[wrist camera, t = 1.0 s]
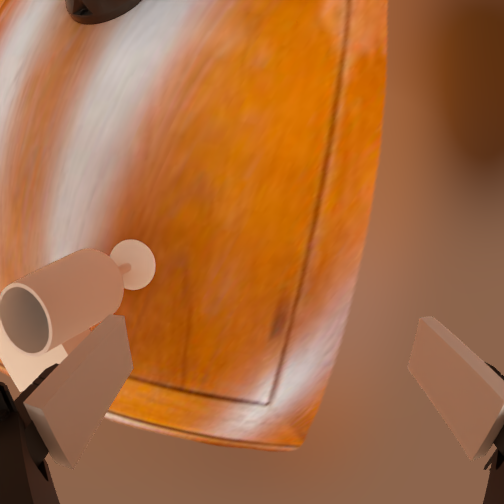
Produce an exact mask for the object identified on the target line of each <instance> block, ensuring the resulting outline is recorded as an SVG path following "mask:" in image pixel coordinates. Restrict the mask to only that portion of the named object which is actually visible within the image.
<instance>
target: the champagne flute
mask: <svg viewBox="0 0 504 504" xmlns="http://www.w3.org/2000/svg"><path fill="white" fill-rule="evenodd" d="M155 267H156V264H155V259H154V255H153V253H152V252H151V250H150V249H149V248H148V246H146V245H145V244H144V243H142V242H140V241H138V240H133V239H129V240H124V241H121V242H120V243H118V244H117V245H116V246H115V247H114V248H113V250H112V251H111V254H110V257H109V256H108V255H107V254H105V253H103V252H101V251H98V250H95V249H81V250H79V251H76V252H74V253H72V254H70V255H68V256H65V257H63V258H61V259H59V260H57V261H55V262H53V263H51V264H49V265H47V266H45V267H43V268H41V269H39V270H37V271H35V272H33V273H31V274H29V275H27V276H25V277H23V278H21V279H19V280H17V281H15V282H13V283H11V284H9V285H7V286H6V287H5V288H4V289H3V291H2V292H1V294H0V325H1V328H2V331H3V333H4V335H5V336H6V338H7V339H8V341H9V342H10V344H11V345H12V346H13V347H14V348H15V349H16V350H18V351H19V352H20V353H22V354H24V355H27V356H30V357H38V356H41V355H43V354H45V353H46V352H48V351H50V350H52V349H53V348H55V347H57V346H59V345H60V344H62V343H64V342H66V341H67V340H69V339H71V338H73V337H75V336H76V335H78V334H80V333H82V332H83V331H85V330H87V329H89V328H91V327H92V326H94V325H96V324H98V323H99V322H101V321H103V320H104V319H105V318H106V317H107V316H108V315H113V314H114V313H115V312H116V311H117V309H118V308H119V306H120V304H121V301H122V299H123V294H124V288H126V289H129V290H138V289H141V288H143V287H145V286H146V285H148V284H149V283H150V281H151V280H152V278H153V276H154V273H155Z"/></svg>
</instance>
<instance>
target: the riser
mask: <svg viewBox="0 0 504 504" xmlns="http://www.w3.org/2000/svg"><path fill="white" fill-rule="evenodd" d="M90 333H91V330H90V328H89V329H87V330H85V331H83V332H82V333H80V334H78V335H76V336H75V337H73V338H71V339H69V340H67V341H66V342H64V343H62V344H60V345H59V346H57V347H55V348H53V349H52V350H50V351H48V352H46V353H45V354H43V355H41V356H38V357H30V356H27V355H24V354H22V353H20V352H19V351H18V350H16V349H15V348H14V347H13V346H12V345H11V344H10V342H9V341H8V339H7V338H6V336H5V335H4V333H3V331H2V328H1V325H0V358H1V360H2V362H3V364H4V366H5V368H6V369H7V371H8V373H9V375H10V376H11V378H12V380H13V381H14V383H15V385H16V386H17V388H18V390H19V391H20V392H21V391H24V390H25V389H26V388H27V387H28V386H29V385H30V384H32V382H33V381H34V380H35V379H36V378H38V376H39V375H40V374H41V373H42V372H43V371H44V370H45V369H46V368H48V367H50V366H52V365H54V364H56V363H57V364H60V363H61V362H62V361H63V360H64V359H65V358H66V357H67V356H68V355H69V354H70V353H71V352H72V351H73V350H74V349H75V348H76V347H77V346H78V345H79V344H80V343H81V342H82V341H83V340H84V339H85V338H86V337H87V336H88V335H89V334H90Z"/></svg>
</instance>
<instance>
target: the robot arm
mask: <svg viewBox="0 0 504 504" xmlns="http://www.w3.org/2000/svg"><path fill="white" fill-rule="evenodd" d="M140 1H141V0H65V2H66V8H67V10H68V12H69V14H70V15H71V16H72V18H73V19H74V20H75V21H77V22H79V23H83V24H96V23H101V22H105V21H108V20H111V19H113V18H116V17H118V16H120V15H122V14H124V13H125V12H127V11H129V10H130V9H132V8H133V7H134V6H136V5H137V4H138V3H139V2H140ZM407 369H408V370H409V371H410V373H411V374H412V376H413V377H414V378H415V380H416V381H417V382H418V384H419V385H420V387H421V388H422V389H423V391H424V392H425V394H426V395H427V397H428V398H429V399H430V401H431V402H432V404H433V405H434V407H435V408H436V409H437V411H438V412H439V414H440V415H441V417H442V418H443V420H444V421H445V423H446V424H447V426H448V427H449V429H450V430H451V432H452V433H453V435H454V436H455V437H456V439H457V440H458V442H459V444H460V445H461V447H462V448H463V450H464V451H465V453H466V454H467V456H468V458H469V459H470V461H473V460H475V459H477V458H480V457H482V456H484V455H486V454H487V452H488V451H489V449H490V448H491V446H492V444H493V443H494V444H495V446H496V447H497V449H496V450H495V452H494V453H493V455H492V457H491V458H490V459H489V461H488V462H487V464H486V465H485V467H484V469H485V470H486V469H487V468H488V466H489V465H490V464H491V463H492V464H491V468H490V475H489V480H488V485H487V489H486V494H485V498H484V501H483V504H504V376H503V375H501V373H500V372H499V371H498V370H497V369H496V368H495V367H493V366H491V365H490V364H488V363H486V362H484V361H482V360H481V359H480V358H479V357H478V356H477V355H476V354H475V353H474V352H473V351H472V350H470V349H469V348H468V347H467V346H466V345H465V344H464V343H463V342H462V341H460V340H459V339H458V338H457V337H456V336H455V335H454V334H453V333H451V332H450V331H449V330H448V329H447V328H446V327H445V326H443V325H442V324H441V323H440V322H439V321H437V320H436V319H435V318H434V317H433V316H432V317H420V318H419V323H418V327H417V332H416V336H415V340H414V344H413V348H412V352H411V356H410V359H409V363H408V367H407ZM132 370H133V363H132V358H131V353H130V347H129V342H128V336H127V330H126V324H125V317H124V316H120V315H108V316H107V317H106V318H105V319H104V320H103V321H102V322H101V323H100V324H99V325H98V326H97V327H96V328H95V329H94V330H93V331H92V332H91V333H90V334H89V335H88V336H87V337H86V338H85V339H84V340H83V341H82V342H81V343H80V344H79V345H78V346H77V347H76V348H75V349H74V350H73V351H72V352H71V353H70V354H69V355H68V356H67V357H66V358H65V359H64V360H63V361H62V362H61V363H60V364H57V363H56V364H54V365H52V366H50V367H48V368H46V369H45V370H44V371H43V372H42V373H41V374H40V375H39V376H38V378H36V379H35V380H34V381H33V382H32V384H30V385H29V386H28V387H27V388H26V389H25V390H24V391H23V392H22V393H21V394H20V396H19V397H18V398H17V399H16V400H15V401H13V399H12V396H11V394H10V392H9V389H8V387H7V385H5V384H4V383H3V382H0V504H60V503H59V500H58V497H57V494H56V491H55V488H54V485H53V482H52V478H51V475H50V471H49V468H48V464H47V462H46V461H45V459H44V458H45V457H46V455H47V454H48V452H49V453H50V455H51V457H52V458H53V460H54V462H55V463H57V464H60V465H62V466H65V467H68V468H70V469H74V468H75V466H76V464H77V462H78V460H79V459H80V457H81V455H82V453H83V452H84V450H85V448H86V446H87V445H88V443H89V441H90V440H91V438H92V436H93V434H94V433H95V431H96V429H97V427H98V426H99V424H100V422H101V421H102V419H103V417H104V416H105V414H106V412H107V411H108V409H109V407H110V406H111V404H112V402H113V401H114V399H115V397H116V396H117V394H118V393H119V391H120V389H121V388H122V386H123V384H124V383H125V381H126V379H127V378H128V376H129V375H130V373H131V371H132Z"/></svg>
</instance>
